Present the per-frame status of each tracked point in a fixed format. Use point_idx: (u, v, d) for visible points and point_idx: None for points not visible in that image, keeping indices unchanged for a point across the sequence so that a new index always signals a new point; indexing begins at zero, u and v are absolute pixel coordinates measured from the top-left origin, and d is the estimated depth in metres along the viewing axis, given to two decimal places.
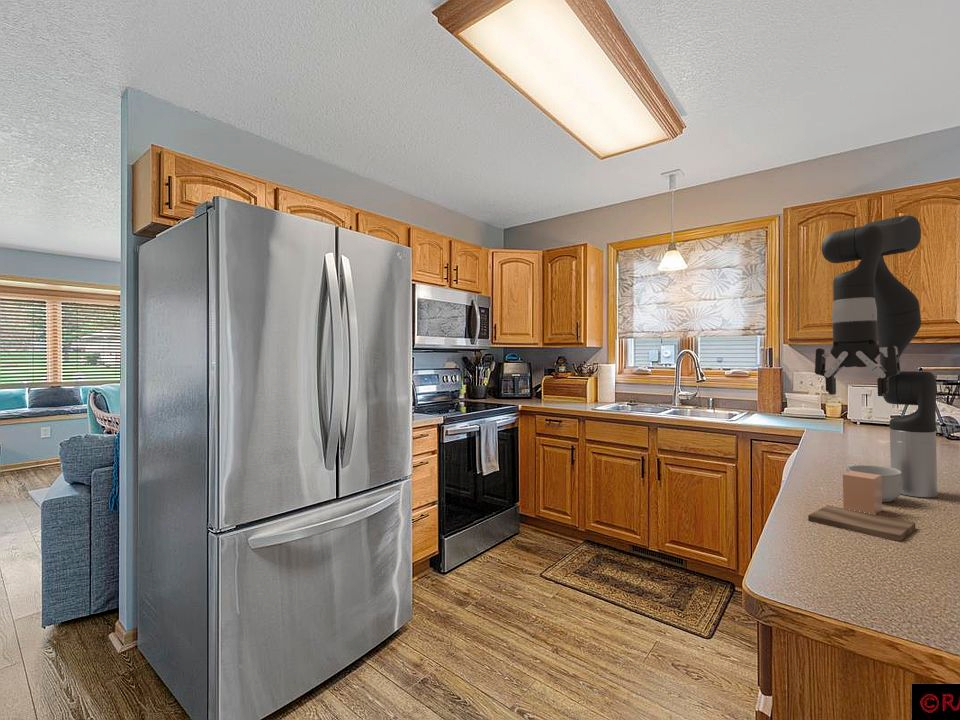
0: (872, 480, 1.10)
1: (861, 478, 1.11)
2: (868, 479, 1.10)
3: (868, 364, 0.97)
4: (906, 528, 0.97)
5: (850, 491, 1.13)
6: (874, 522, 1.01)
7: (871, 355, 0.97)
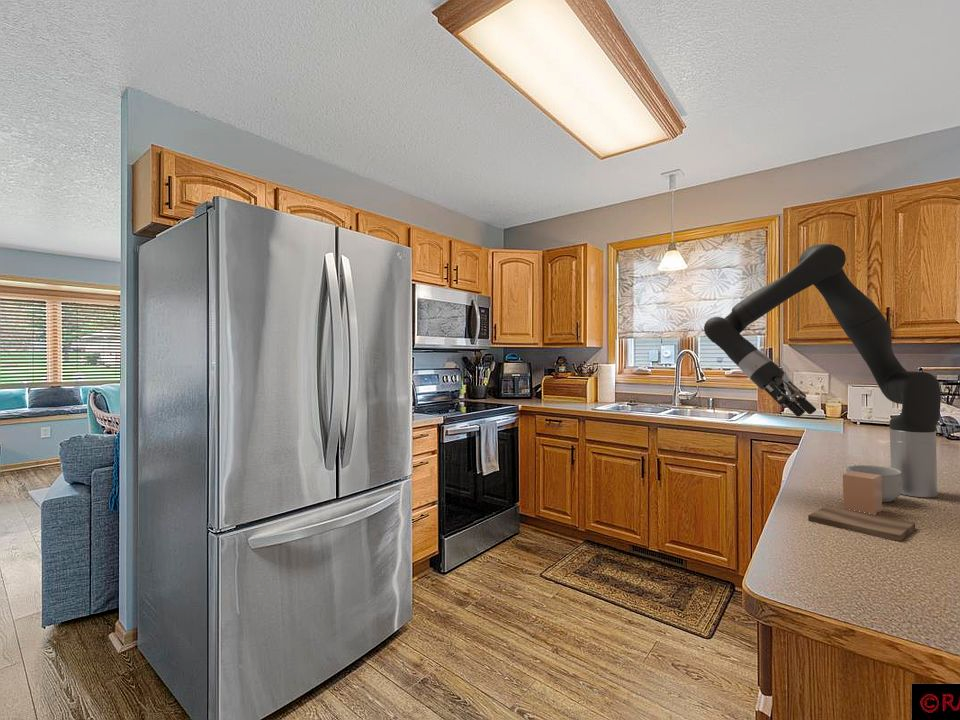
0: (872, 480, 1.10)
1: (861, 478, 1.11)
2: (868, 479, 1.10)
3: (778, 399, 1.26)
4: (906, 528, 0.97)
5: (850, 491, 1.13)
6: (874, 522, 1.01)
7: None
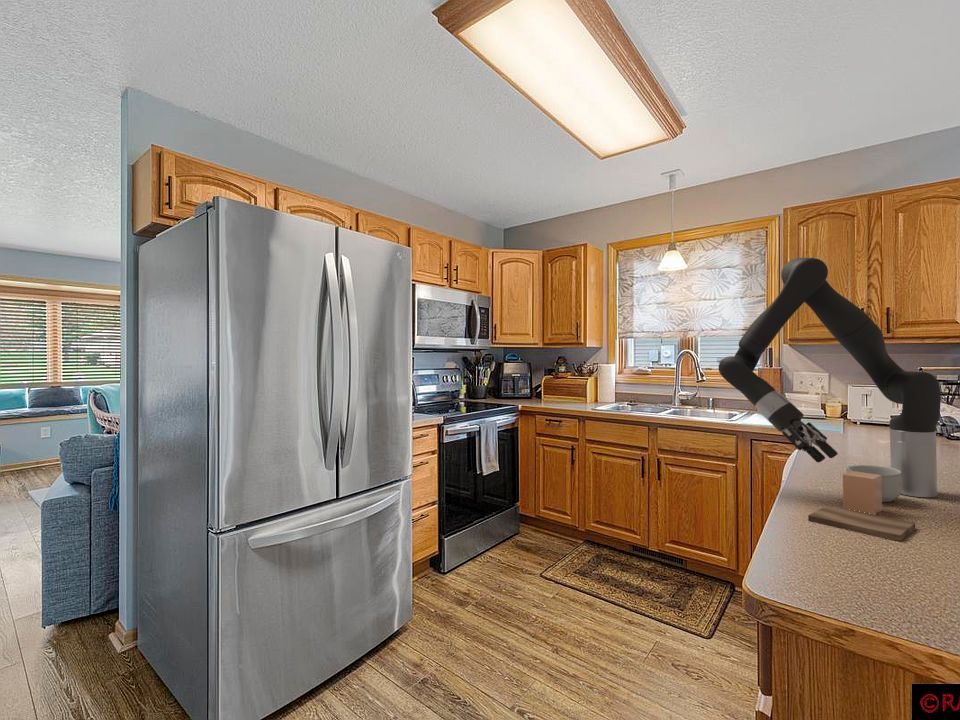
0: (872, 480, 1.10)
1: (861, 478, 1.11)
2: (868, 479, 1.10)
3: None
4: (906, 528, 0.97)
5: (850, 491, 1.13)
6: (874, 522, 1.01)
7: None
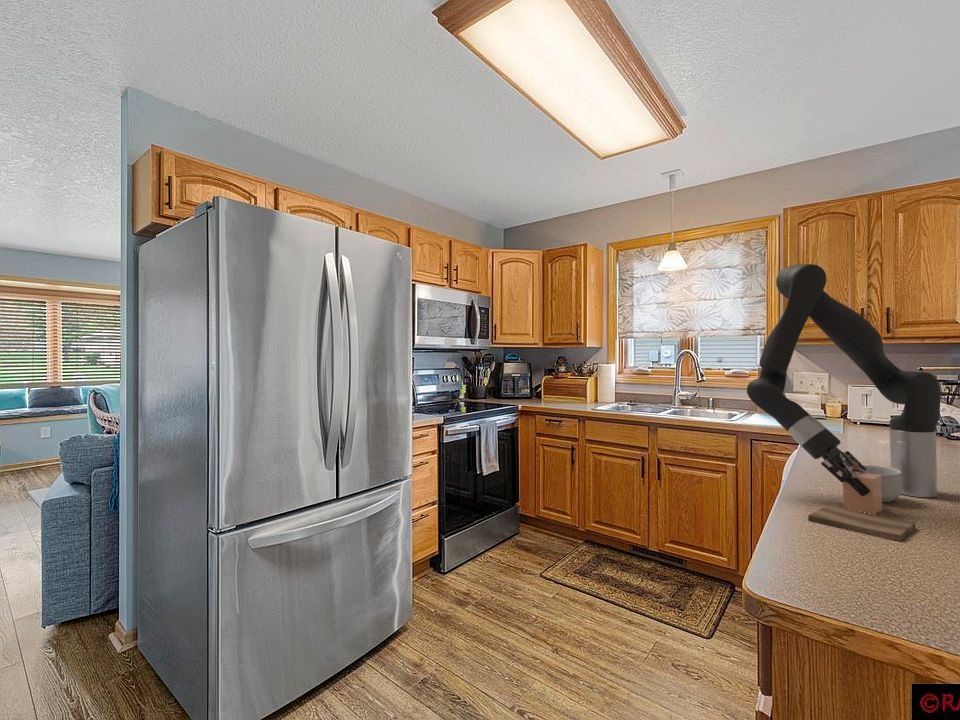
0: (872, 480, 1.10)
1: (861, 478, 1.11)
2: (868, 479, 1.10)
3: (836, 472, 1.16)
4: (906, 528, 0.97)
5: (850, 491, 1.13)
6: (874, 522, 1.01)
7: None
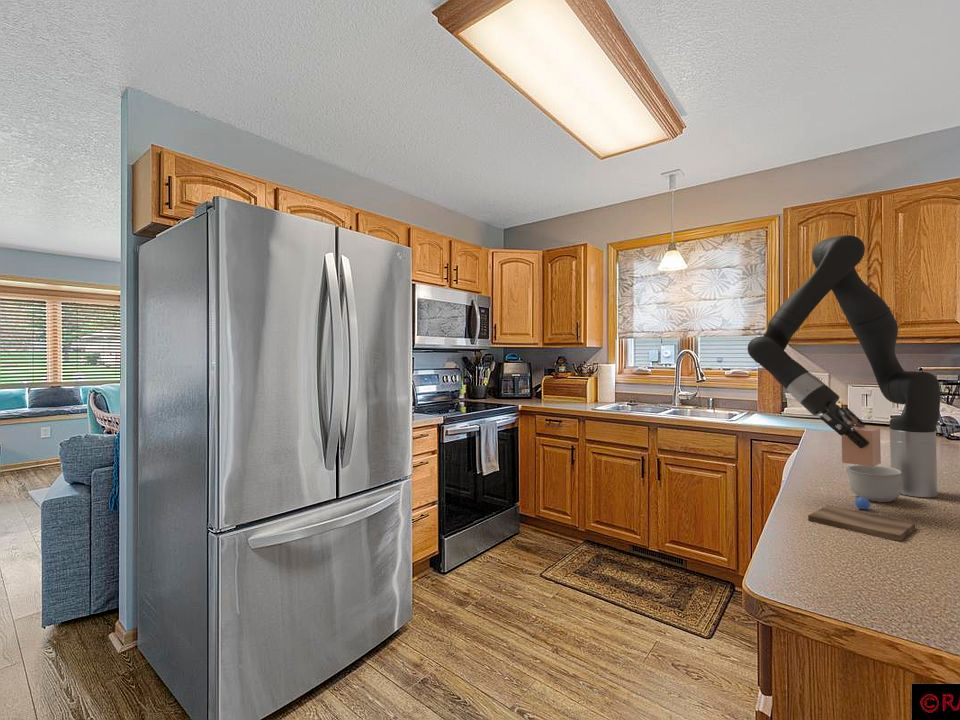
0: (871, 432, 1.10)
1: (860, 431, 1.12)
2: (867, 431, 1.10)
3: (835, 427, 1.16)
4: (906, 528, 0.97)
5: (848, 445, 1.13)
6: (874, 522, 1.01)
7: None
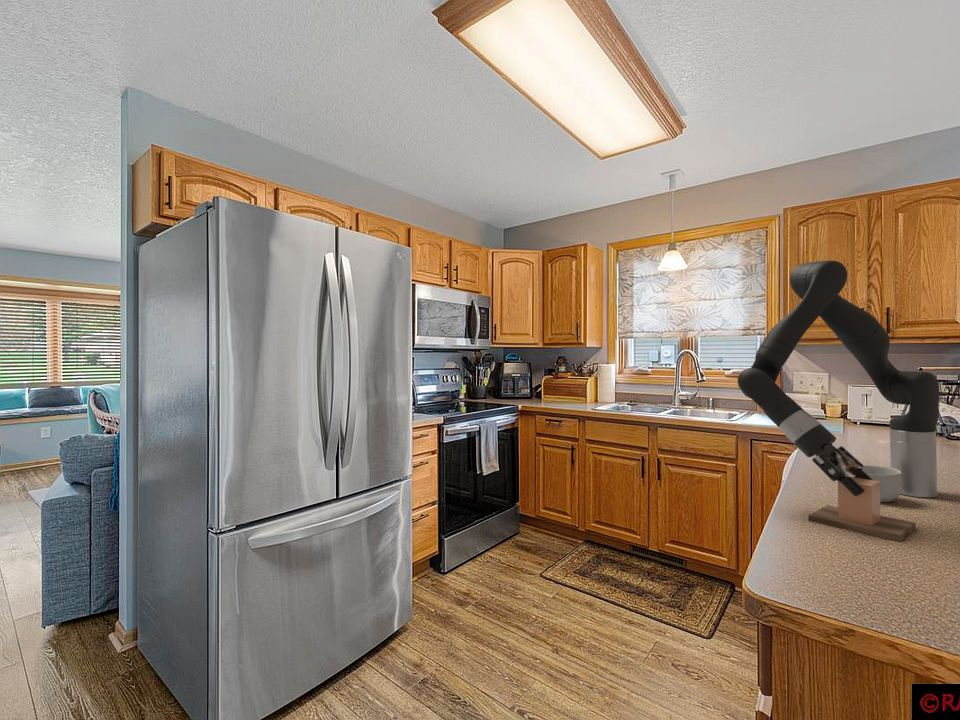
0: (870, 487, 1.00)
1: None
2: (865, 486, 1.00)
3: (830, 471, 1.06)
4: (906, 528, 0.97)
5: (845, 499, 1.03)
6: None
7: None
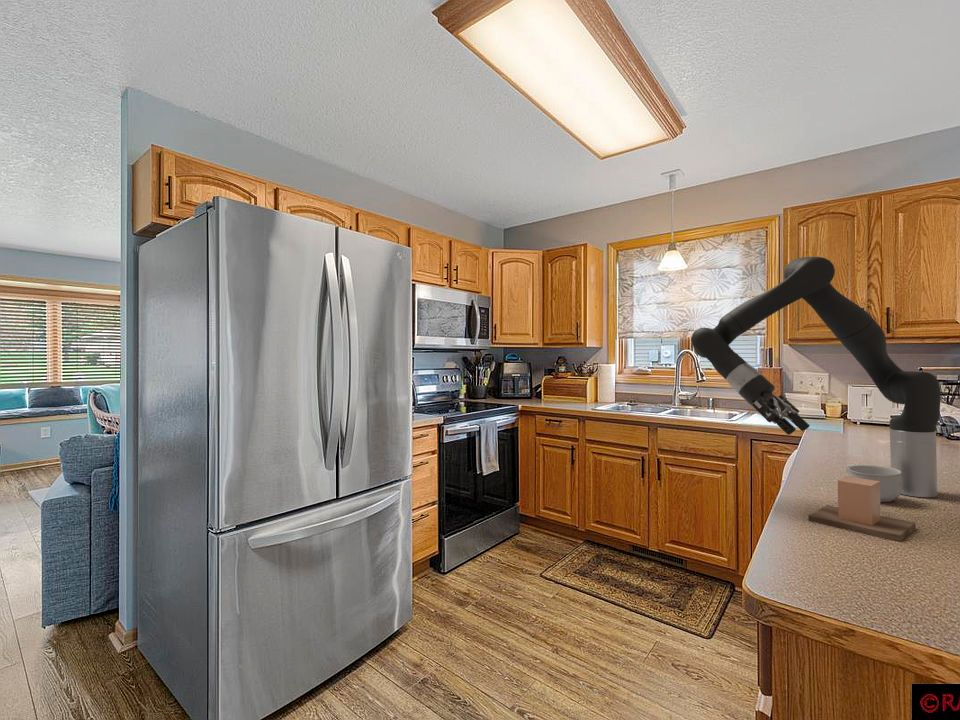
0: (870, 487, 1.00)
1: (858, 485, 1.01)
2: (865, 486, 1.00)
3: (768, 415, 1.18)
4: (906, 528, 0.97)
5: (845, 499, 1.03)
6: None
7: None
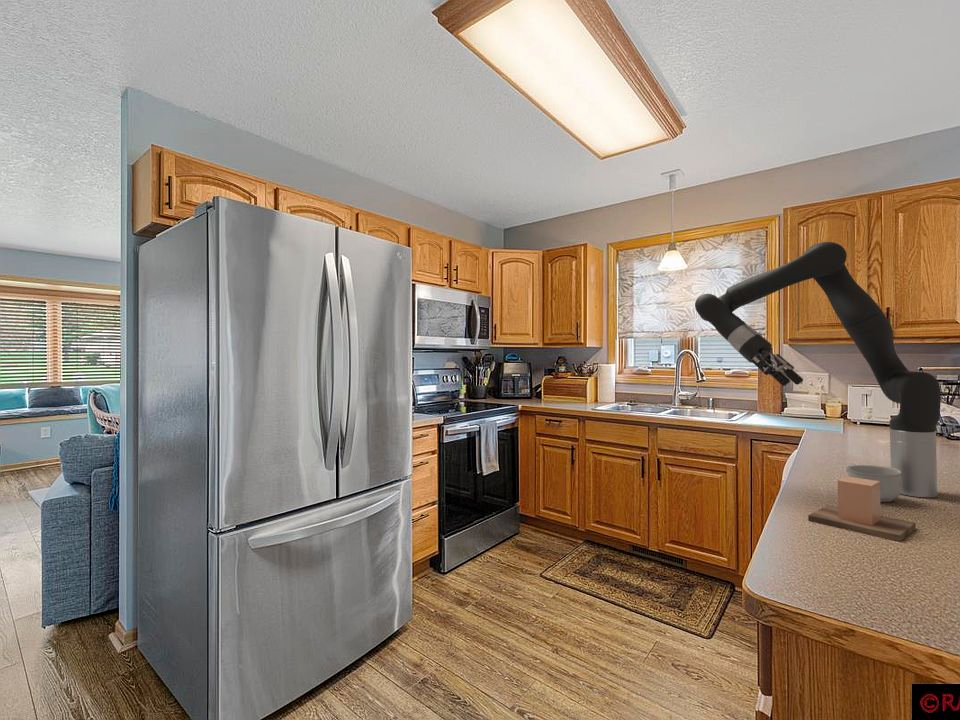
0: (870, 487, 1.00)
1: (858, 485, 1.01)
2: (865, 486, 1.00)
3: (765, 370, 1.30)
4: (906, 528, 0.97)
5: (845, 499, 1.03)
6: None
7: None
